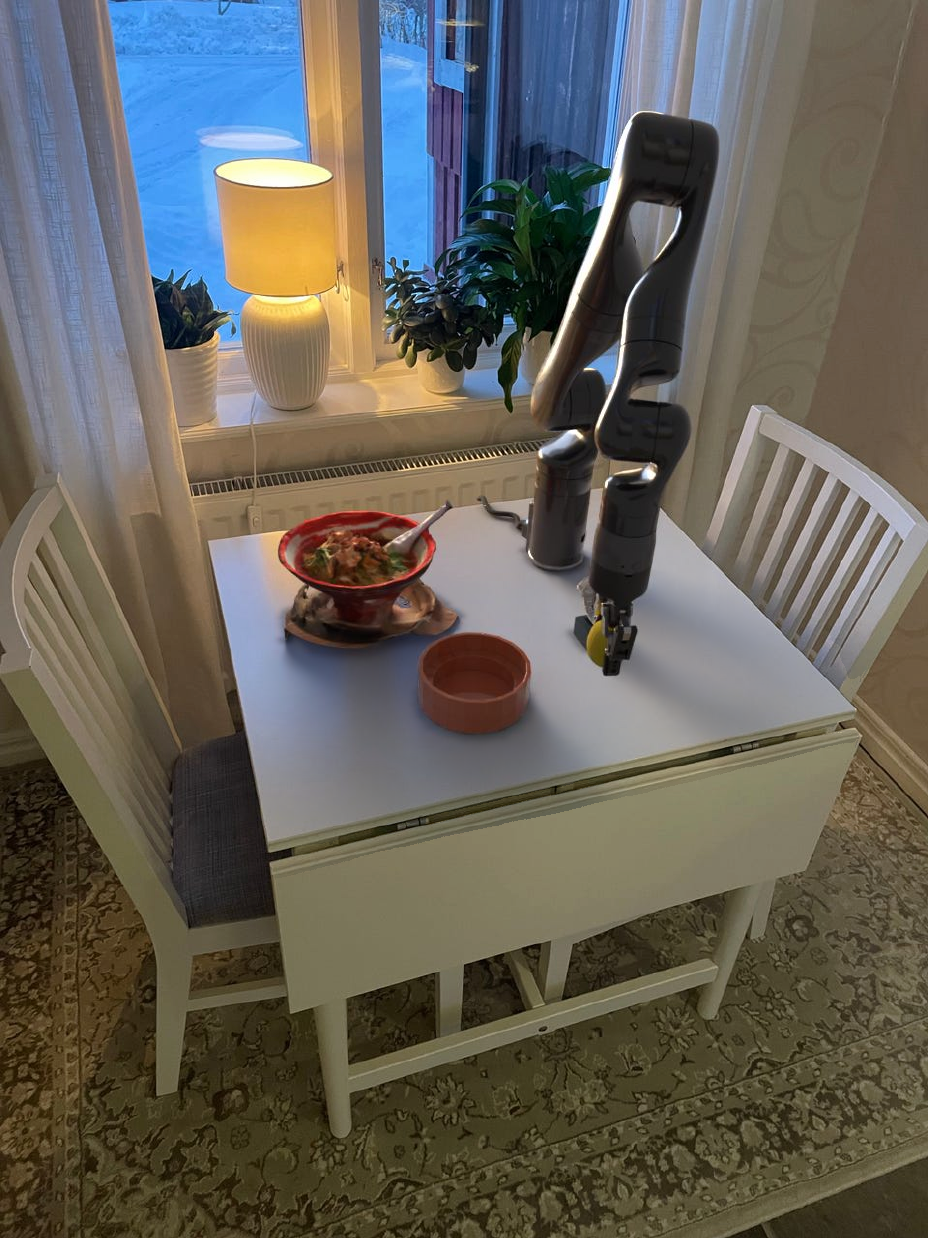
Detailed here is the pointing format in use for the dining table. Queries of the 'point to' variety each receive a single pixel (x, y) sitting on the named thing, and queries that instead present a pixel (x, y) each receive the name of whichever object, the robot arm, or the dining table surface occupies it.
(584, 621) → the watch
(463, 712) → the bowl
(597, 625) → the lemon
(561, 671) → the dining table surface
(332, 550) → the stew
